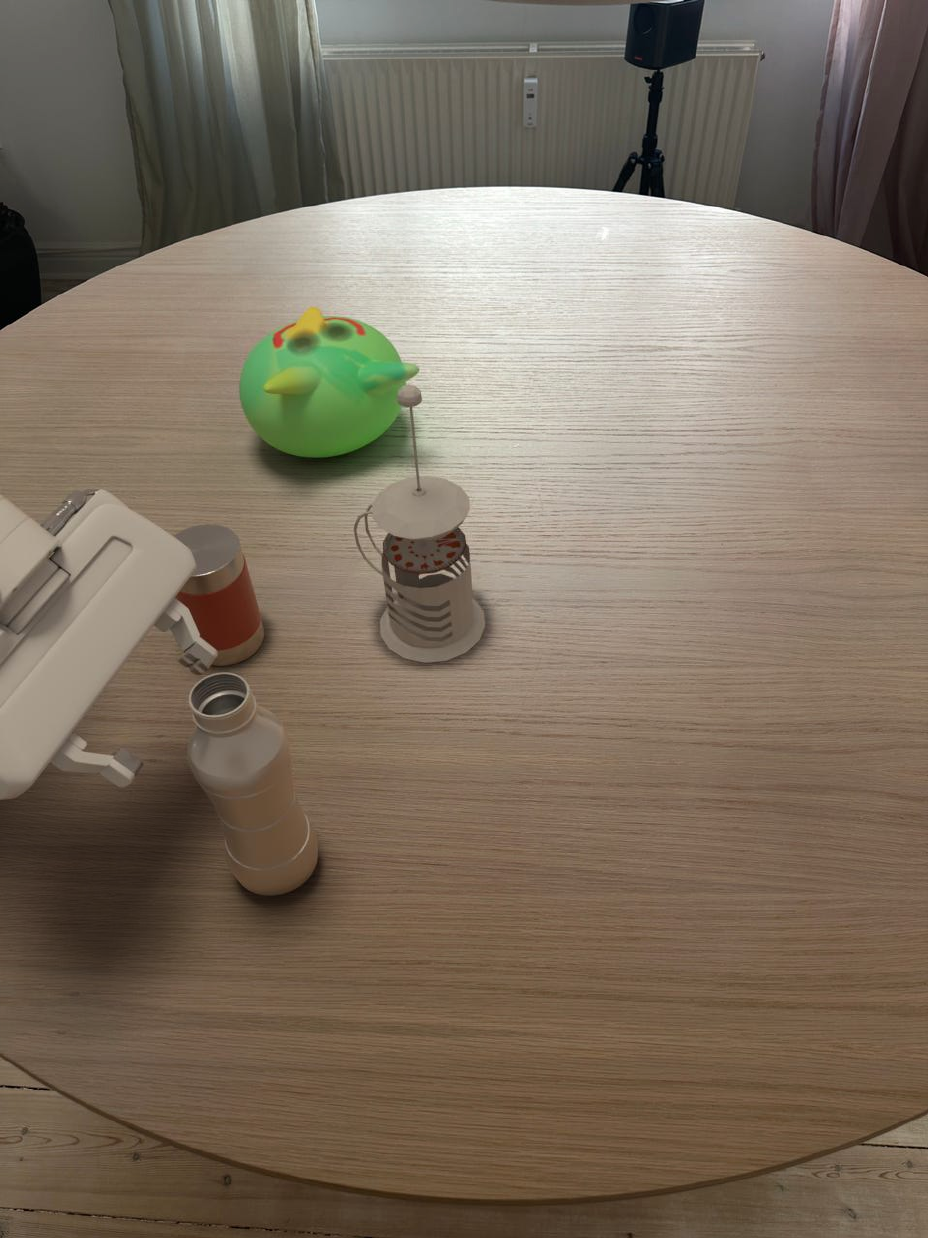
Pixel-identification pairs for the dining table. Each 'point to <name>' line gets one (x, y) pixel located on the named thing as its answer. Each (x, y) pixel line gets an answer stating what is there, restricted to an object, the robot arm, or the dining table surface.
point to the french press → (425, 563)
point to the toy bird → (322, 385)
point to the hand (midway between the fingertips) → (173, 718)
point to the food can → (221, 594)
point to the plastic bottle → (250, 785)
